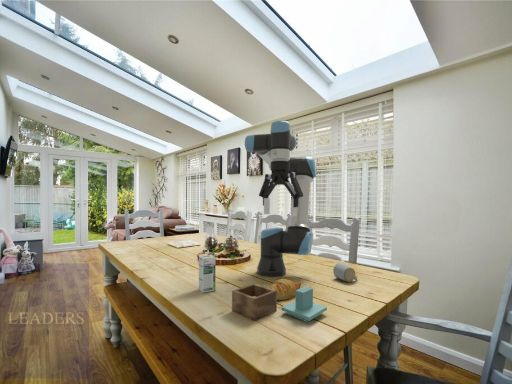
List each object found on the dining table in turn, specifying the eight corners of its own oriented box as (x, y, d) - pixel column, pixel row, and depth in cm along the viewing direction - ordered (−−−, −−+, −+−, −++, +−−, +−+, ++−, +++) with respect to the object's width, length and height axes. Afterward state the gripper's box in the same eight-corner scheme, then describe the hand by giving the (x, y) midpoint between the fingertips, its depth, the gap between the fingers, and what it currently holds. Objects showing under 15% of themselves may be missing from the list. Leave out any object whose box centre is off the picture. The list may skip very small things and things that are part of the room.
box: (232, 310, 96) (232, 290, 96) (253, 302, 104) (254, 283, 104) (254, 321, 88) (254, 299, 88) (276, 310, 96) (276, 290, 96)
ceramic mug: (344, 283, 127) (344, 266, 127) (332, 278, 134) (333, 262, 134) (361, 281, 131) (362, 265, 131) (349, 276, 139) (349, 261, 139)
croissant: (268, 313, 102) (275, 297, 99) (252, 294, 109) (259, 278, 106) (304, 298, 116) (311, 284, 113) (288, 282, 123) (294, 268, 120)
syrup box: (202, 293, 113) (202, 257, 113) (198, 288, 118) (198, 255, 118) (215, 291, 115) (215, 256, 116) (211, 287, 121) (211, 253, 121)
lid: (281, 314, 93) (281, 289, 93) (300, 305, 101) (300, 282, 101) (309, 325, 86) (309, 297, 86) (326, 314, 94) (327, 289, 94)
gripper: (250, 162, 114) (250, 213, 114) (301, 157, 97) (300, 217, 97) (263, 164, 120) (262, 213, 119) (312, 159, 102) (312, 216, 102)
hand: (279, 215), depth 108 cm, fingers open, 13 cm apart
